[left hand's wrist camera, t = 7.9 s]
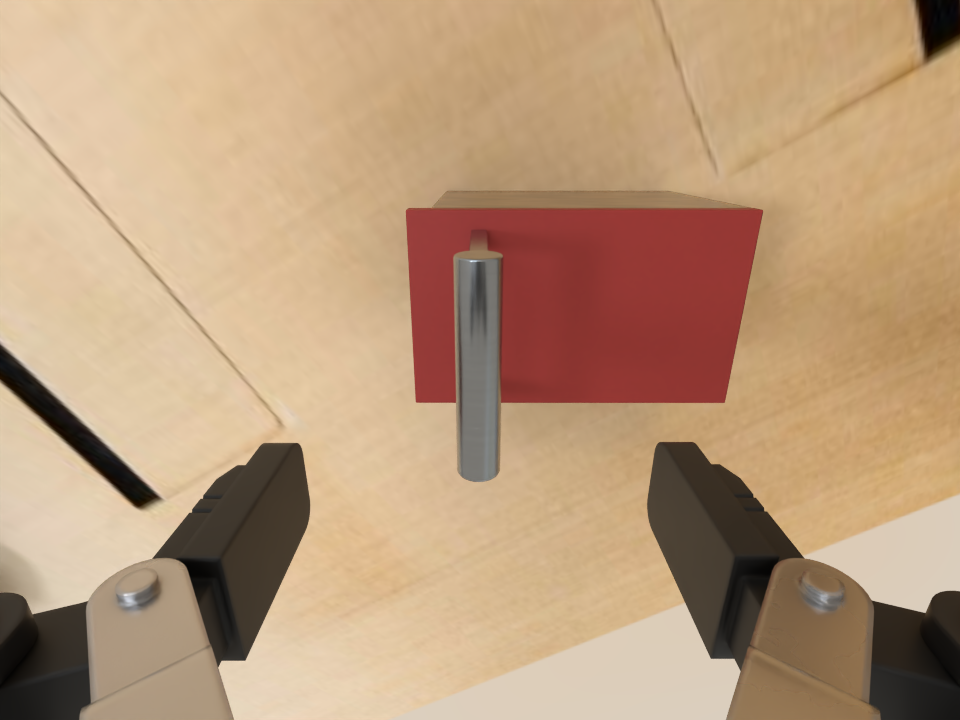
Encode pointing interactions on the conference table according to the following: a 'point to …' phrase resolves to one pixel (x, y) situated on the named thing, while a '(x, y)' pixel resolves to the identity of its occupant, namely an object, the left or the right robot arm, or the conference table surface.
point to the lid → (572, 309)
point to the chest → (575, 200)
